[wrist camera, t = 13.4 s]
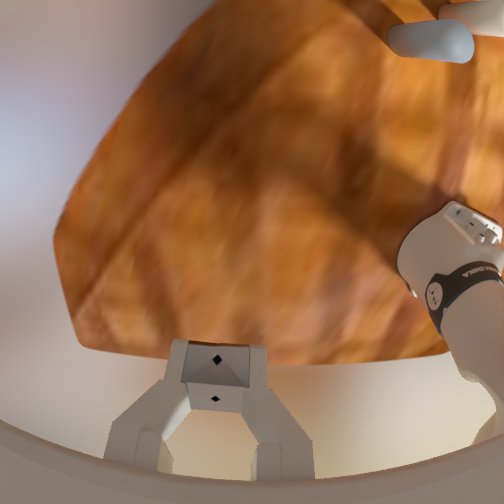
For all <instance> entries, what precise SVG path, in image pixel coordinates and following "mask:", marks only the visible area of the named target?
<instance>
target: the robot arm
mask: <svg viewBox="0 0 504 504" xmlns="http://www.w3.org/2000/svg"><path fill="white" fill-rule="evenodd" d="M501 239H502V227H501V226H500V225H499V224H498V223H496V222H494V221H492V220H490V219H489V218H487V217H485V216H483V215H481V214H479V213H477V212H476V211H474V210H472V209H470V208H468V207H466V206H464V205H462V204H460V203H458V202H456V201H450V202H449V203H447V204H446V205H445V206H444V207H443V208H442V209H441V210H440V211H439V212H438V213H437V214H435V215H433V216H431V217H429V218H427V219H425V220H423V221H422V222H421V223H419V224H418V225H417V226H416V227H415V228H413V230H412V231H411V232H410V233H409V234H408V235H407V237H406V238H405V240H404V242H403V243H402V245H401V248H400V250H399V254H398V260H397V265H398V270H399V273H400V275H401V276H402V278H403V279H404V280H405V281H406V282H407V283H408V284H409V285H410V290H411V292H412V294H413V295H414V296H415V297H418V298H419V300H420V301H421V303H422V304H423V306H424V307H425V308H426V310H427V311H428V313H429V314H430V317H431V319H432V321H433V323H434V326H435V328H436V329H437V330H438V332H439V334H440V335H441V336H442V337H444V338H445V341H446V343H447V345H448V347H449V349H450V351H451V354H452V356H453V358H454V361H455V363H456V365H457V368H458V370H459V372H460V374H461V375H462V377H464V378H465V379H466V380H468V381H471V382H479V383H481V384H482V385H483V387H484V388H485V389H486V390H487V391H488V392H489V394H490V395H491V397H492V398H493V400H494V402H495V405H496V412H495V413H494V414H493V415H492V416H491V417H490V419H489V420H488V421H487V422H486V423H485V424H484V425H483V426H482V428H481V429H480V430H479V432H478V433H477V435H476V437H475V439H474V441H473V443H472V445H471V446H469V447H466V448H463V449H460V450H457V451H454V452H451V453H448V454H445V455H442V456H438V457H435V458H431V459H428V460H424V461H420V462H417V463H413V464H409V465H405V466H400V467H396V468H391V469H386V470H381V471H376V472H369V473H363V474H357V475H350V476H342V477H333V478H324V479H315V472H314V460H313V448H312V440H311V439H310V438H309V436H308V435H307V434H306V433H305V431H304V430H303V429H302V428H301V426H300V425H299V424H298V423H297V421H296V420H295V419H294V417H293V416H292V415H291V414H290V412H289V411H288V410H287V408H286V407H285V406H284V405H283V403H282V402H281V401H280V399H279V398H278V397H277V395H276V394H275V393H274V392H273V390H272V389H267V369H266V368H267V366H266V347H265V346H264V345H250V346H249V344H229V343H209V342H200V341H191V340H182V339H174V340H173V342H172V346H171V350H170V354H169V359H168V363H167V367H166V372H165V377H164V380H158V381H157V382H156V383H155V384H154V385H153V386H152V387H151V388H150V389H149V390H148V391H147V392H145V393H144V394H143V395H142V396H141V397H140V398H139V399H138V400H137V401H136V402H134V403H133V404H132V405H131V406H130V407H129V408H128V409H127V410H126V411H124V413H122V414H121V415H120V416H119V417H118V418H117V419H116V420H115V421H113V422H112V426H111V430H110V433H109V437H108V441H107V445H106V449H105V453H104V458H103V459H101V458H97V457H94V456H91V455H87V454H84V453H81V452H78V451H75V450H72V449H69V448H66V447H63V446H60V445H57V444H55V443H52V442H49V441H47V440H44V439H42V438H40V437H37V436H35V435H32V434H30V433H28V432H25V431H23V430H20V429H19V428H17V427H14V426H12V425H10V424H8V423H6V422H4V421H2V420H0V504H504V283H503V280H502V277H501V273H502V270H503V267H504V248H503V246H502V245H501V244H500V243H501ZM191 409H199V410H213V411H225V412H236V413H241V415H242V416H243V418H244V420H245V422H246V423H247V425H248V426H249V428H250V430H251V431H252V433H253V435H254V436H255V438H256V440H257V441H258V443H259V445H258V446H257V448H256V451H255V454H254V458H253V461H252V464H251V481H241V480H223V479H211V478H200V477H192V476H184V475H176V474H172V469H173V460H174V459H173V457H172V455H171V453H170V452H169V450H168V448H167V446H166V444H165V441H166V439H167V438H168V437H169V436H170V435H171V434H172V433H173V431H174V430H175V429H176V428H177V427H178V425H179V424H180V423H181V422H182V421H183V419H184V418H185V417H186V416H187V415H188V414H189V412H190V411H191Z"/></svg>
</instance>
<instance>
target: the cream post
mask: <svg viewBox="0 0 504 504" xmlns="http://www.w3.org/2000/svg"><path fill="white" fill-rule="evenodd" d="M438 18H439V20H443V19H455V20H458V21H460V22H461V23H463V24H464V25H465V26H466V27H467V28H468V30H469V31H470V33H471V35H488V36H500V37H504V0H481V1H470V2H461V3H453V4H446V5H442V6H441V7H440V8H439V10H438Z"/></svg>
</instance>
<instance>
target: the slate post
mask: <svg viewBox="0 0 504 504" xmlns="http://www.w3.org/2000/svg"><path fill="white" fill-rule="evenodd" d="M387 41H388V45H389V47H390V48H391V50H392V51H393V52H394V53H395V54H397V55H399V56H402V57H411V58H422V59H432V60H441V61H448V62H455V63H465V62H467V61H469V60H470V59H471V57H472V55H473V53H474V41H473V38H472V35H471V33H470V31H469V30H468V28H467V27H466V26H465V25H464V24H463V23H461V22H460V21H458V20H455V19H443V20H432V21H423V22H415V23H407V24H400V25H395V26H393V27H392V28H390V30H389V31H388V34H387Z"/></svg>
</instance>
